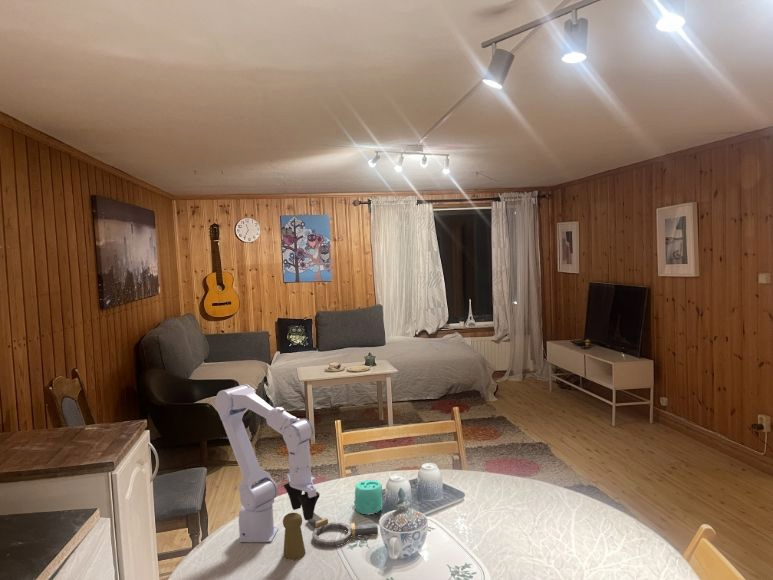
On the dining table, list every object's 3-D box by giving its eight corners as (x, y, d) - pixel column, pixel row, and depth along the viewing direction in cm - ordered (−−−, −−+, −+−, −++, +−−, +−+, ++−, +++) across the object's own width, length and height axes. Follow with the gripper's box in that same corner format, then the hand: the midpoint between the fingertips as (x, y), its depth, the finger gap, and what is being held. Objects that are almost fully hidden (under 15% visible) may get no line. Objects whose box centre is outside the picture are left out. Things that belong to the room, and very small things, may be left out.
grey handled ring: (296, 547, 156) (296, 538, 156) (308, 519, 172) (308, 511, 172) (376, 546, 155) (375, 537, 154) (380, 518, 171) (380, 510, 170)
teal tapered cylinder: (358, 504, 181) (356, 479, 181) (382, 503, 181) (381, 479, 181) (355, 515, 173) (354, 490, 173) (381, 515, 173) (380, 489, 173)
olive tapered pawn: (301, 560, 149) (298, 520, 148) (279, 559, 150) (277, 519, 149) (308, 548, 155) (306, 510, 154) (288, 547, 156) (285, 509, 155)
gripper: (325, 469, 149) (327, 519, 150) (302, 454, 161) (304, 500, 162) (301, 476, 145) (303, 527, 146) (278, 460, 157) (281, 507, 158)
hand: (302, 513), depth 154 cm, fingers open, 7 cm apart
